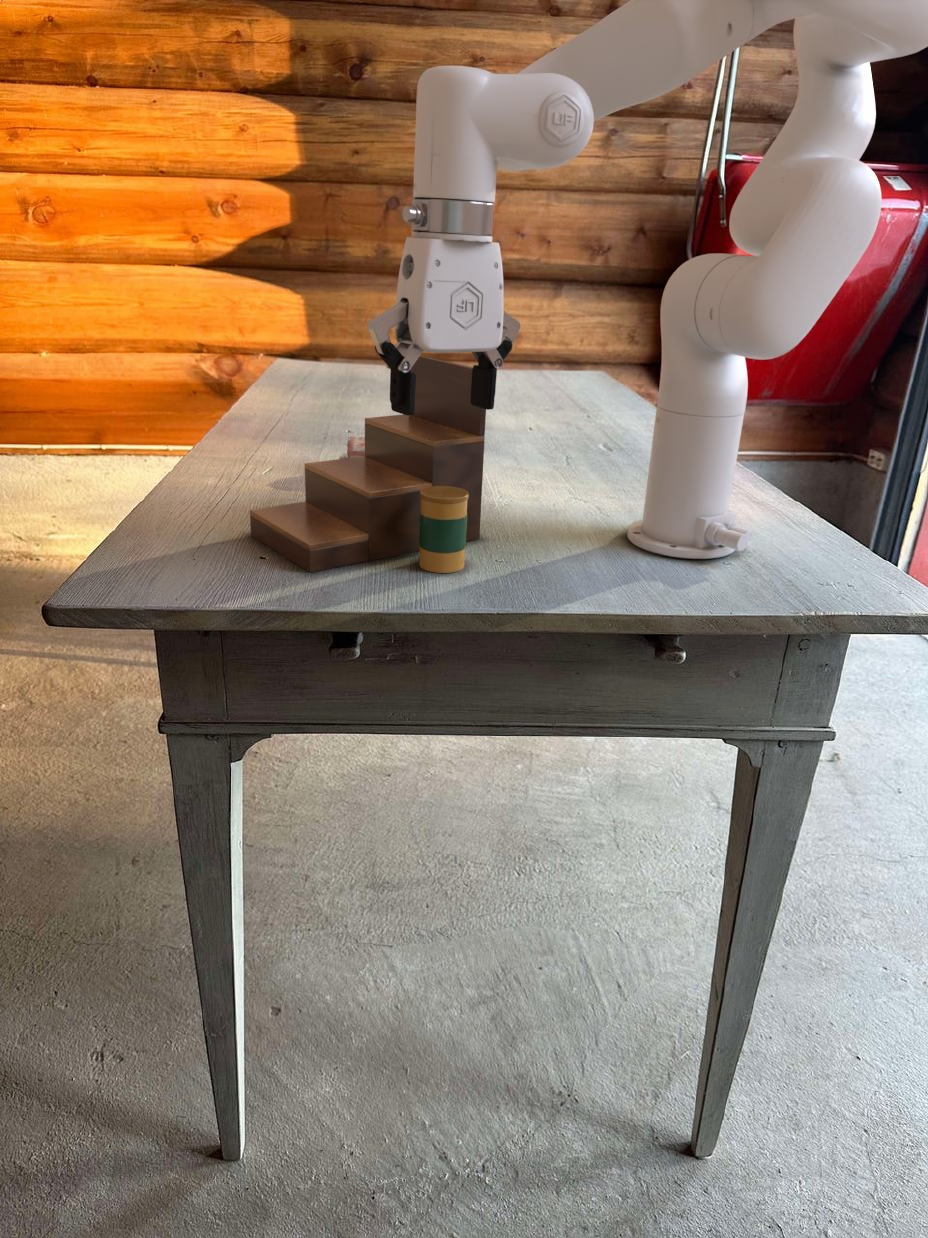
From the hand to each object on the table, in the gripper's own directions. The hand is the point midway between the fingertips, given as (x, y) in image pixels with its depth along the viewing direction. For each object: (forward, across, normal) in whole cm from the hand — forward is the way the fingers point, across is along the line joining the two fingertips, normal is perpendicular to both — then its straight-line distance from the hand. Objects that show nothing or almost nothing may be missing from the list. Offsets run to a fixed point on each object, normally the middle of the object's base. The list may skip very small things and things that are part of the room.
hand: (443, 409), depth 91 cm
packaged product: (+16, +17, +33) cm, 41 cm away
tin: (+16, 0, -1) cm, 16 cm away
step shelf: (+16, -2, +11) cm, 20 cm away
